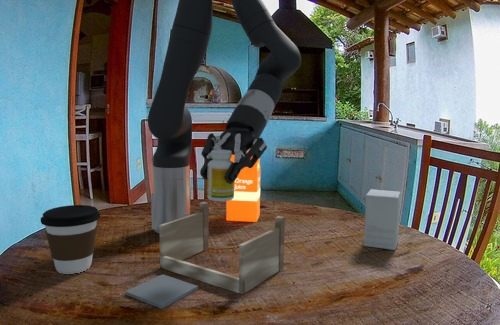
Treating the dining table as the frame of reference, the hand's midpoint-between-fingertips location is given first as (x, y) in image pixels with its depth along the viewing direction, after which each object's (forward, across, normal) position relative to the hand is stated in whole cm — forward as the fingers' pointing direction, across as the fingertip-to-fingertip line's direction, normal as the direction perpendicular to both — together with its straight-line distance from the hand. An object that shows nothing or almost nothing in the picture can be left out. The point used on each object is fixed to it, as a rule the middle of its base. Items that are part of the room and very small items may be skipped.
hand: (215, 178), depth 83 cm
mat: (+22, -2, +4) cm, 23 cm away
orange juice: (-11, -18, +39) cm, 44 cm away
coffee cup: (+25, -24, +3) cm, 34 cm away
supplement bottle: (+2, 0, +4) cm, 5 cm away
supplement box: (-12, +22, +39) cm, 46 cm away
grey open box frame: (+12, 0, +14) cm, 19 cm away
